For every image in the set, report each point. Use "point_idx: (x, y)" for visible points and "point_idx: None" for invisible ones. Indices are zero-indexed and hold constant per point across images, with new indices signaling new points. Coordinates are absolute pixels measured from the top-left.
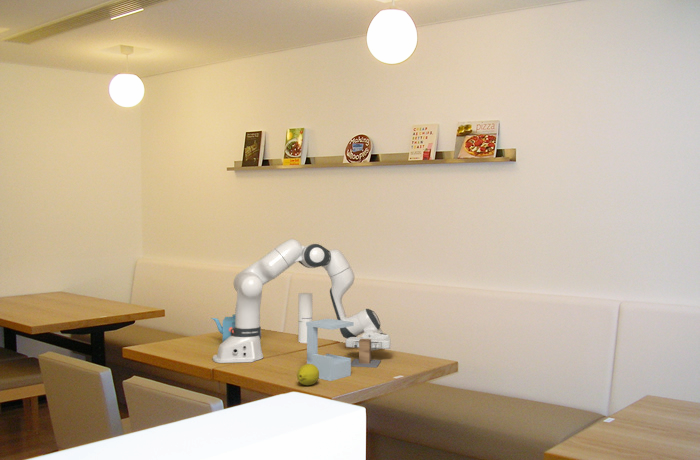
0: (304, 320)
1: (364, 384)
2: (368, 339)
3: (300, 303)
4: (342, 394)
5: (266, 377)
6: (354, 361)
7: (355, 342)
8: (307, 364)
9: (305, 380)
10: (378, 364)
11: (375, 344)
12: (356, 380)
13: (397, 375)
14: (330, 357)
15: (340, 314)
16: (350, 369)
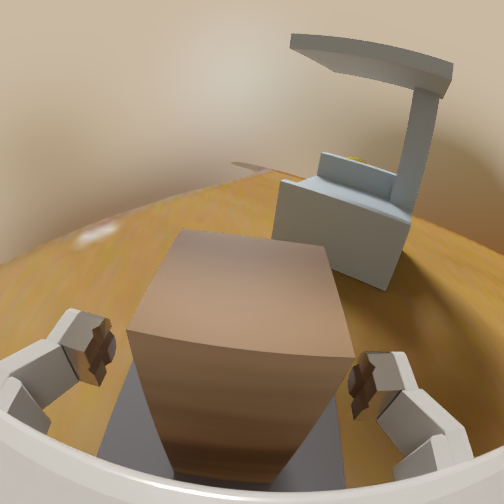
0: None
1: (217, 196)
2: (187, 284)
3: None
4: (257, 173)
5: (455, 240)
6: (323, 458)
7: (425, 446)
8: (356, 157)
9: None
10: (119, 401)
11: (93, 316)
12: (241, 213)
13: (94, 241)
14: (327, 153)
15: None
16: (274, 222)
